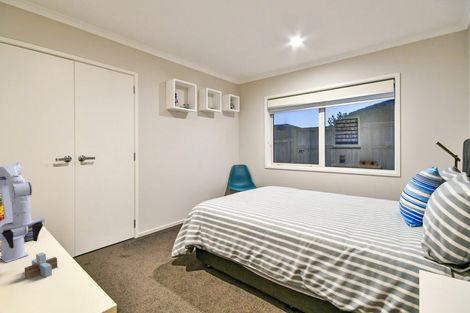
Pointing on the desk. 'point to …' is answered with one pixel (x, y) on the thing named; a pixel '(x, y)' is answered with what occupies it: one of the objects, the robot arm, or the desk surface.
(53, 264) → the brown notched wooden bar
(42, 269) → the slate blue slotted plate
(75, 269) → the desk surface
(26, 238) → the pill bottle
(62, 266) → the desk surface
